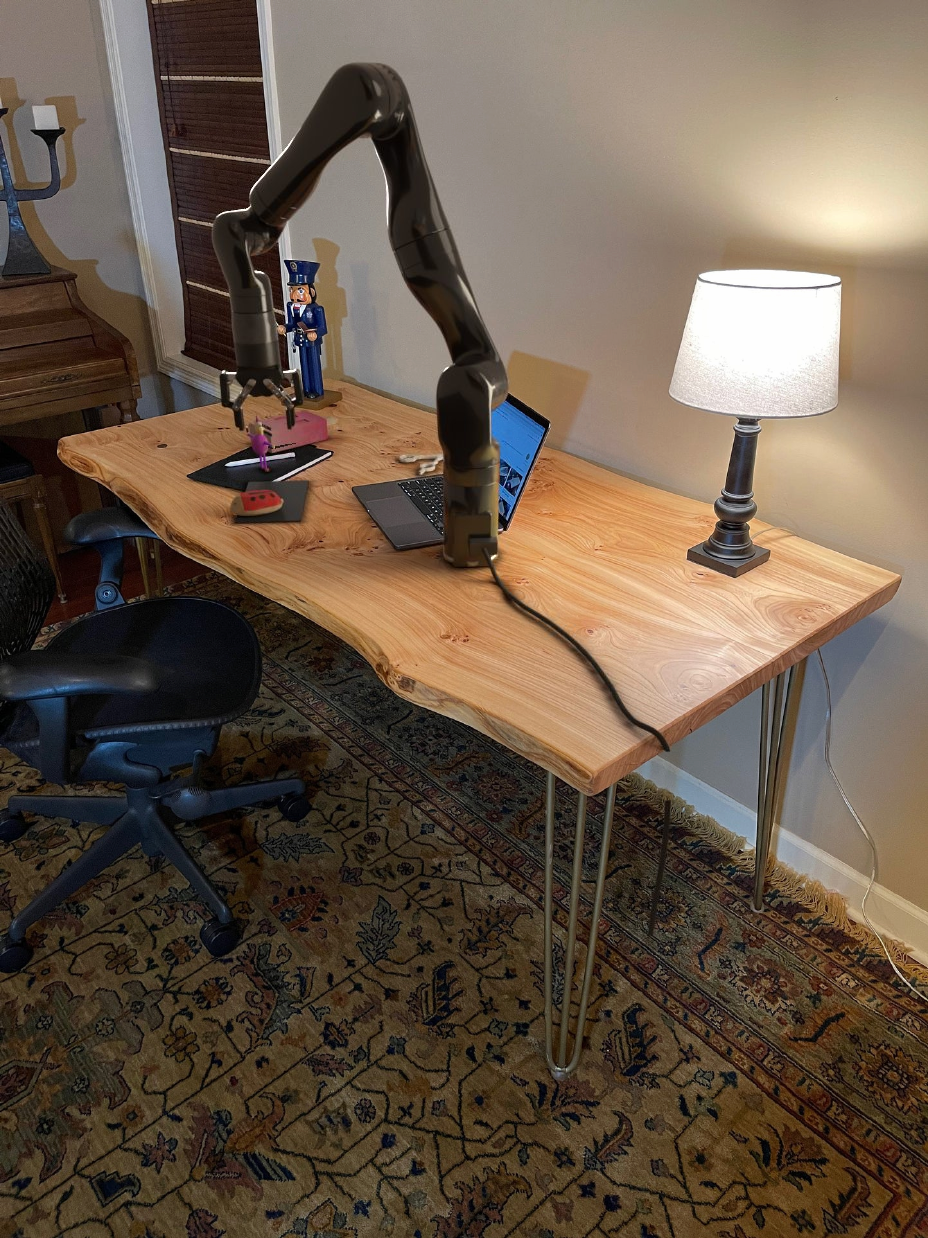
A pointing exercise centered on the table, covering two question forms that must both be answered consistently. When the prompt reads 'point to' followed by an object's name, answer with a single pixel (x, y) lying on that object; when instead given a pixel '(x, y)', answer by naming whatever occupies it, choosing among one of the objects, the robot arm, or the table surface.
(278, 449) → the popsicle
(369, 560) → the table surface
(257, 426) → the wizard figurine
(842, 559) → the table surface
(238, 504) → the ladybug figurine
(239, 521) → the desk pad
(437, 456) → the scissors
